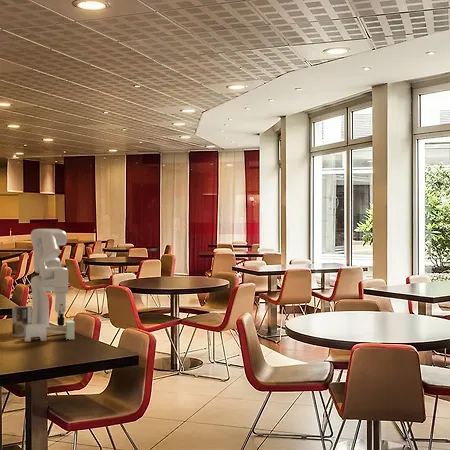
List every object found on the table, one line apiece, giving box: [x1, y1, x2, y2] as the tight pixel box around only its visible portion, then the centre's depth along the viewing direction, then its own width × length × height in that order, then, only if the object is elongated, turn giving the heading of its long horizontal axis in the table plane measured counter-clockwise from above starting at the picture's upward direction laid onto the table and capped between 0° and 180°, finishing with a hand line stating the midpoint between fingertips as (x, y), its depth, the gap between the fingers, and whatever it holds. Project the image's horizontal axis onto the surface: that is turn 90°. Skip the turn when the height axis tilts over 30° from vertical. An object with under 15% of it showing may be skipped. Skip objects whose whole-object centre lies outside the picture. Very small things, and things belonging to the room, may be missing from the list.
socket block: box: [65, 320, 76, 340], centre depth 360 cm, size 8×4×9 cm, turn 18°
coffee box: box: [11, 305, 32, 338], centre depth 367 cm, size 9×6×16 cm
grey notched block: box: [24, 324, 48, 342], centre depth 354 cm, size 8×11×8 cm
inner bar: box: [47, 316, 67, 335], centre depth 357 cm, size 4×17×10 cm, turn 108°
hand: (60, 324), depth 358 cm, fingers closed on inner bar, 2 cm apart
